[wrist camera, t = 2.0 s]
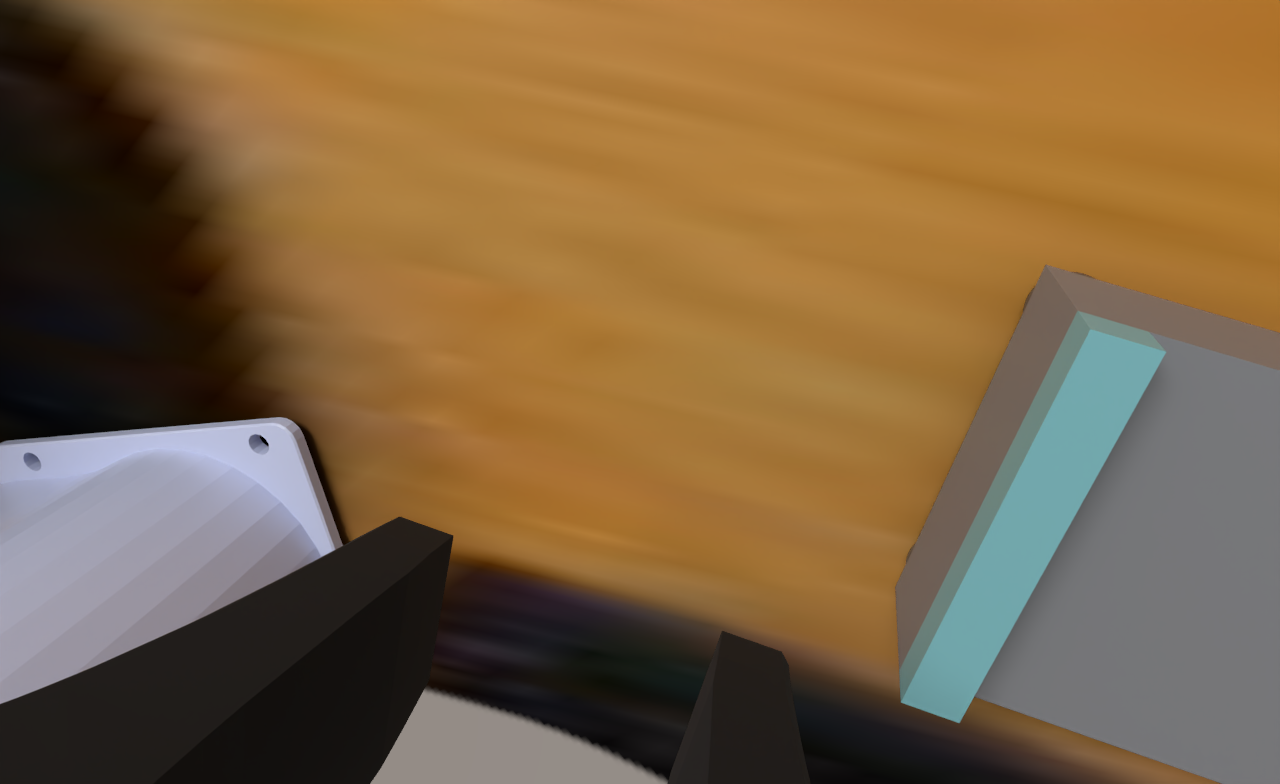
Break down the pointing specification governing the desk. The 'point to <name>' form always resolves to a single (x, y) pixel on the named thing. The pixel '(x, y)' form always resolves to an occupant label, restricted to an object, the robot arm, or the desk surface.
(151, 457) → the robot arm
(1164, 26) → the desk surface
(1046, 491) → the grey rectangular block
